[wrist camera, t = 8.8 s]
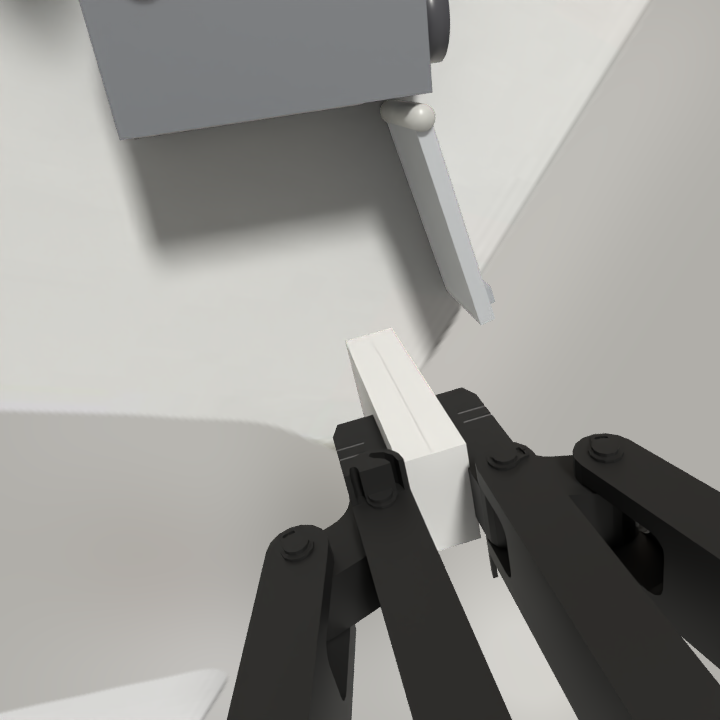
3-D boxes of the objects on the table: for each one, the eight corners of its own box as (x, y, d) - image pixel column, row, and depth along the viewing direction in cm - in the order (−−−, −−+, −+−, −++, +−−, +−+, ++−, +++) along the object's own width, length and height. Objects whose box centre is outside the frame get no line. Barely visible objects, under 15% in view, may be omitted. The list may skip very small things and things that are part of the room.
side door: (465, 281, 45) (505, 316, 38) (443, 291, 45) (479, 328, 38) (402, 93, 38) (437, 96, 32) (377, 105, 38) (406, 110, 32)
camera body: (142, 130, 36) (117, 144, 29) (88, -70, 32) (40, -118, 24) (419, 88, 38) (467, 90, 31) (404, -106, 34) (456, -161, 26)
